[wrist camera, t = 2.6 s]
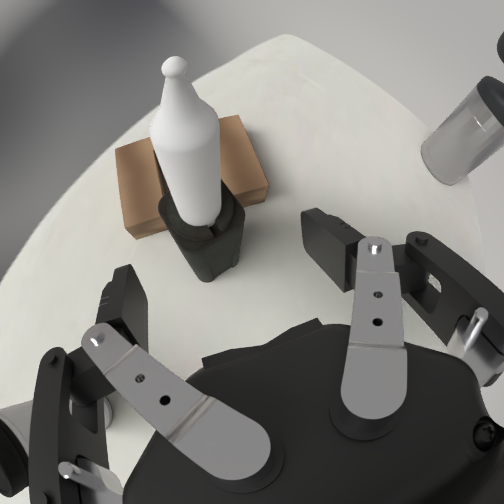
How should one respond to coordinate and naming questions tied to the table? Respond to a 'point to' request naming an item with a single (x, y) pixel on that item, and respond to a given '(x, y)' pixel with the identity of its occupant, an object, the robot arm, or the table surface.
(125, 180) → the socket block
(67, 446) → the robot arm
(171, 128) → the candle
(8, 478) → the travel mug
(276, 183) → the table surface
